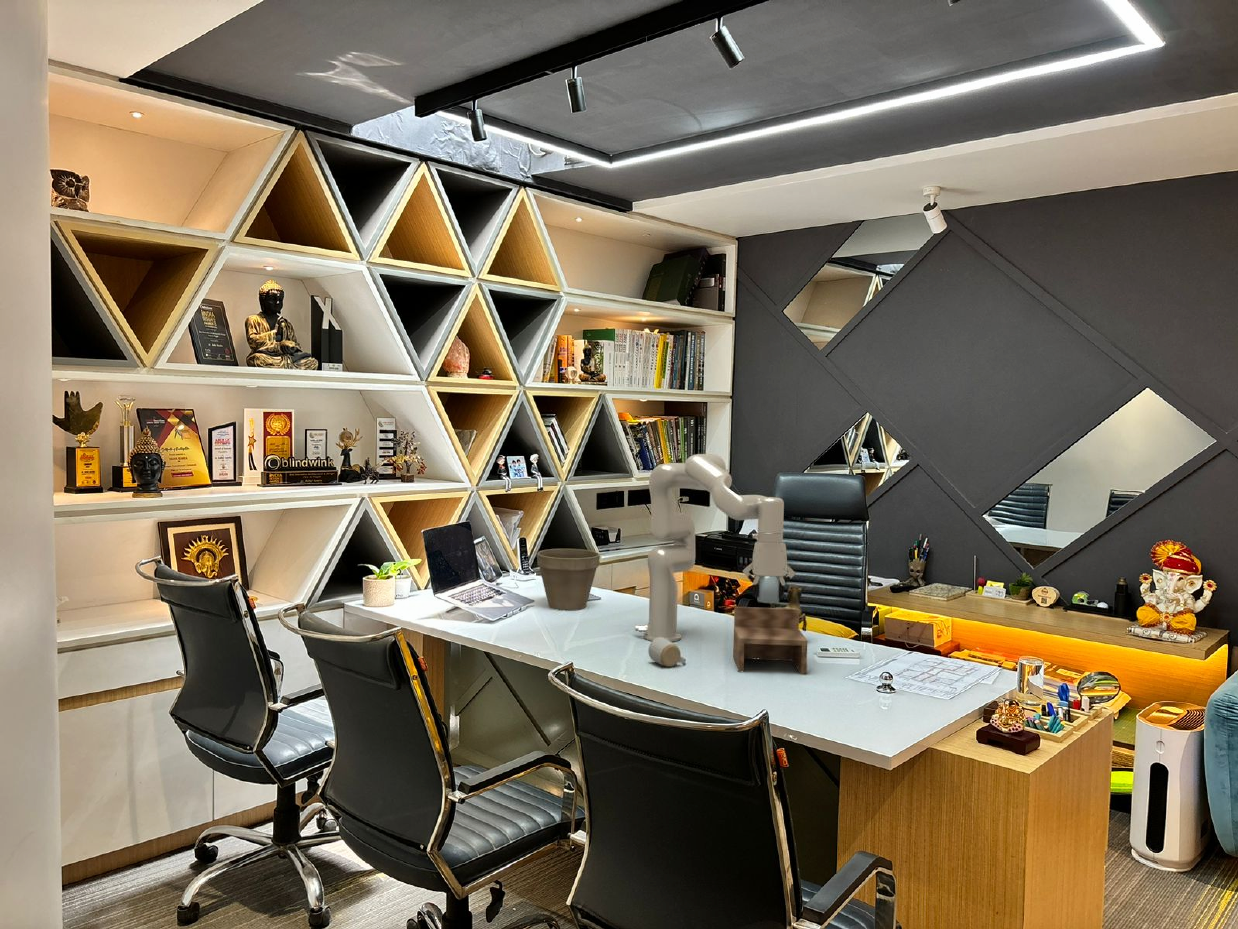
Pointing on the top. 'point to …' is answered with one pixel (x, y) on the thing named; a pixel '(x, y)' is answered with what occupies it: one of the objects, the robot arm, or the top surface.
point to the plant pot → (567, 576)
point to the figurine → (794, 603)
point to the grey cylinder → (768, 589)
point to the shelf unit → (768, 636)
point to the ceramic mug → (665, 652)
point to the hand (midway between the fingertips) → (768, 597)
